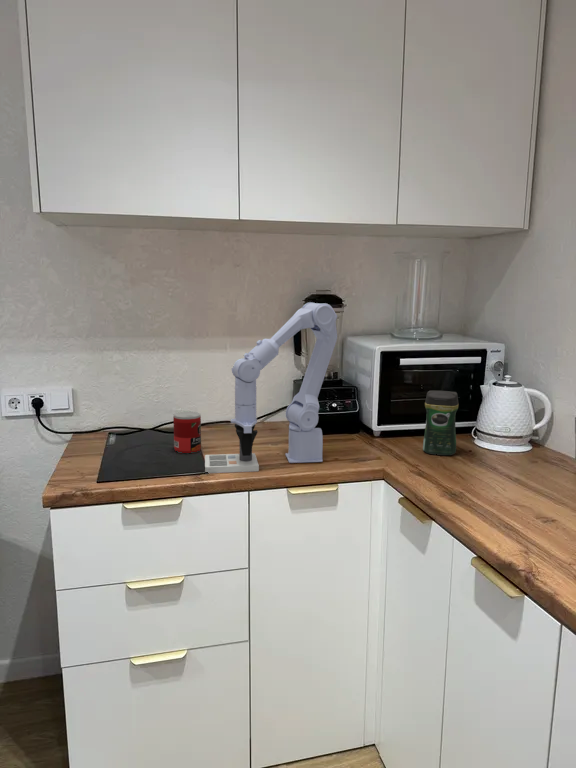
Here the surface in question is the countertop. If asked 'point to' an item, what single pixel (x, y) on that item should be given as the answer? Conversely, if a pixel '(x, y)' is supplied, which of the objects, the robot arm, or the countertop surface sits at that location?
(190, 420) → the canned food
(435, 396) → the coffee jar
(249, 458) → the plug
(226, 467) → the socket board
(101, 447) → the countertop surface
